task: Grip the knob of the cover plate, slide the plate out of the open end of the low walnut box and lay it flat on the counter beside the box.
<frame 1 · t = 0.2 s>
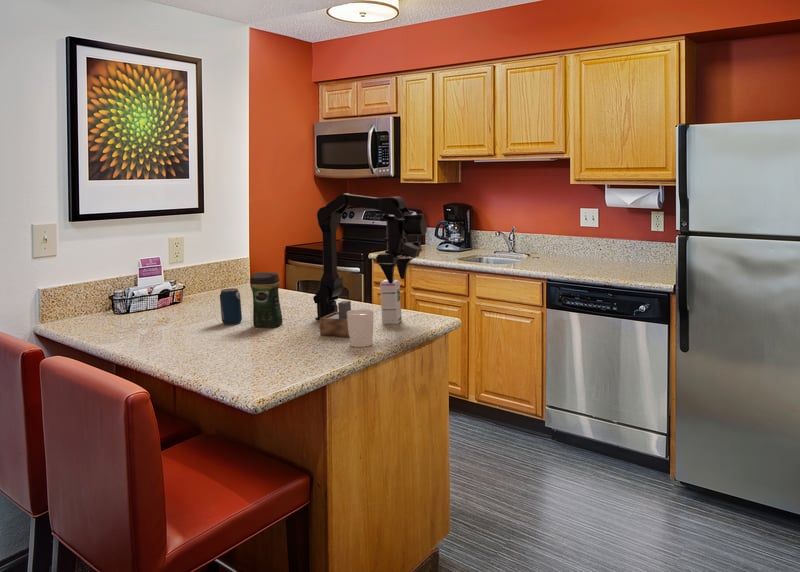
hand: (396, 281, 206), 14 cm above the table, tool pointing down, fingers open, 9 cm apart
walnut box: (344, 333, 197), on the table
coffee jar: (268, 326, 212), on the table
soda can: (232, 323, 217), on the table
syrup box: (391, 322, 211), on the table
cover plate: (345, 320, 197), point 4 cm above the table, touching walnut box
beige cup: (361, 345, 183), on the table
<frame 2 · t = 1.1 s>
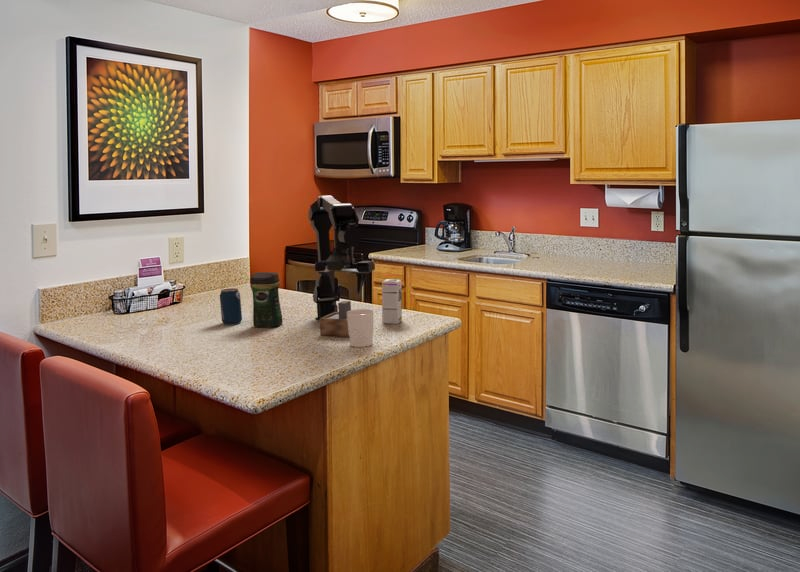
hand: (345, 292, 195), 13 cm above the table, tool pointing down, fingers open, 9 cm apart
nothing on the table moved.
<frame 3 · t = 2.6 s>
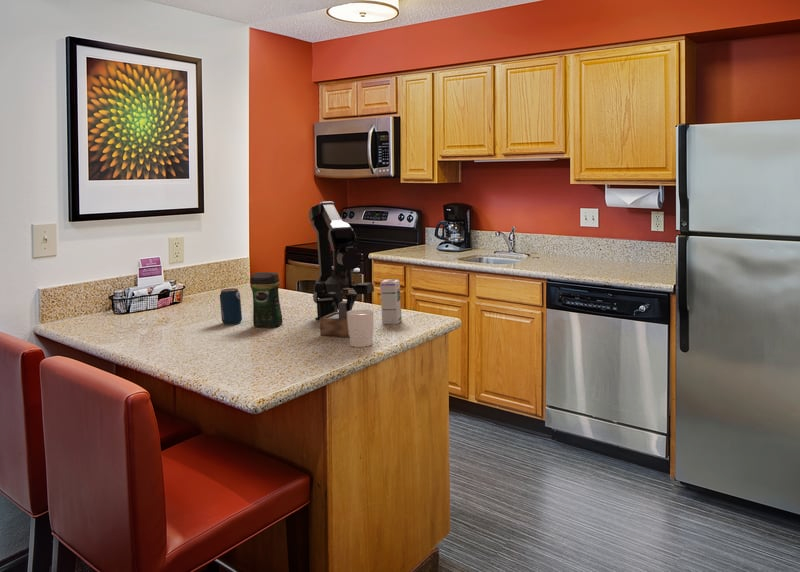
hand: (344, 314, 196), 6 cm above the table, tool pointing down, fingers closed on cover plate, 2 cm apart
cover plate: (345, 320, 197), point 4 cm above the table, touching gripper, walnut box
everything else where it was.
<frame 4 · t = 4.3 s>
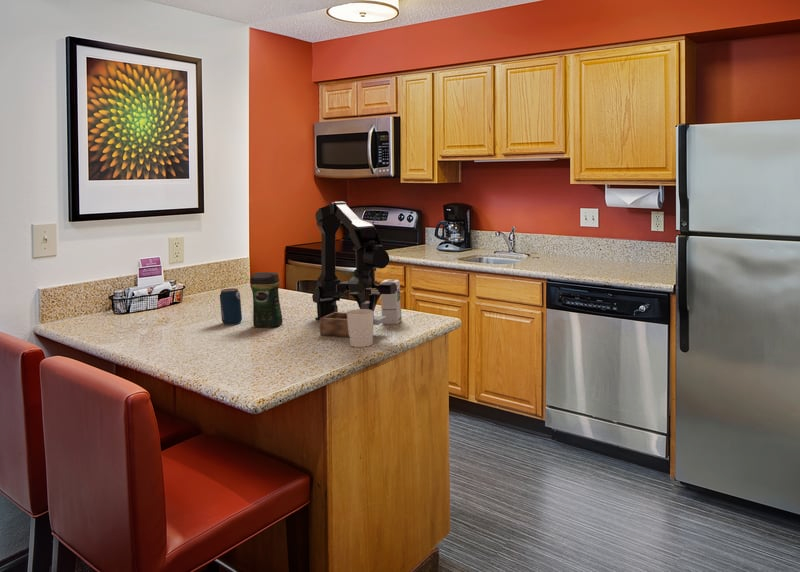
hand: (367, 314, 193), 6 cm above the table, tool pointing down, fingers closed on cover plate, 2 cm apart
cover plate: (367, 321, 193), point 4 cm above the table, touching gripper
everything else where it was.
when the fingers open (3 cm above the table, at t = 6.4 s): cover plate drops 1 cm, on the table.
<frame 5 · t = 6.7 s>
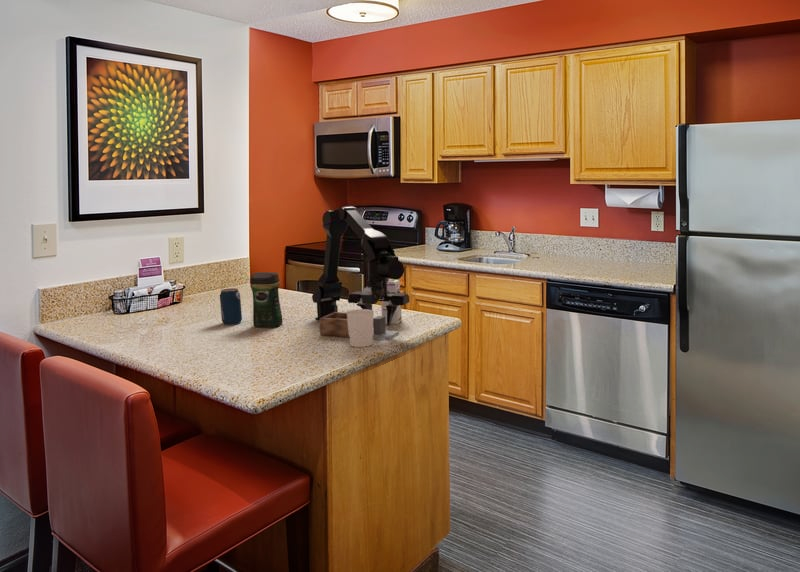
hand: (379, 325, 192), 3 cm above the table, tool pointing down, fingers open, 6 cm apart
cover plate: (379, 336, 193), on the table
everything else where it was.
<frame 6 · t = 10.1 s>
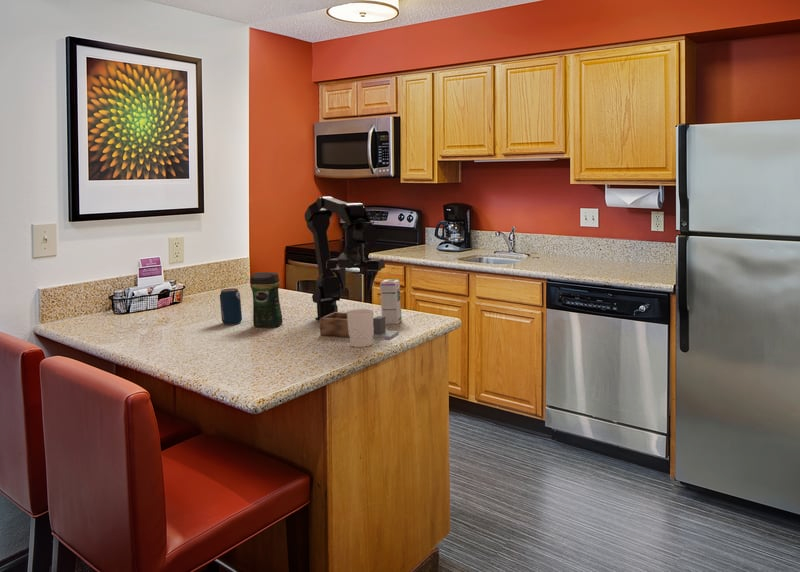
hand: (356, 290, 200), 13 cm above the table, tool pointing down, fingers open, 9 cm apart
nothing on the table moved.
at the end: cover plate inside the target area (1.1 cm from its centre), on the table; cover plate tilted 0°; the gripper is holding nothing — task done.
